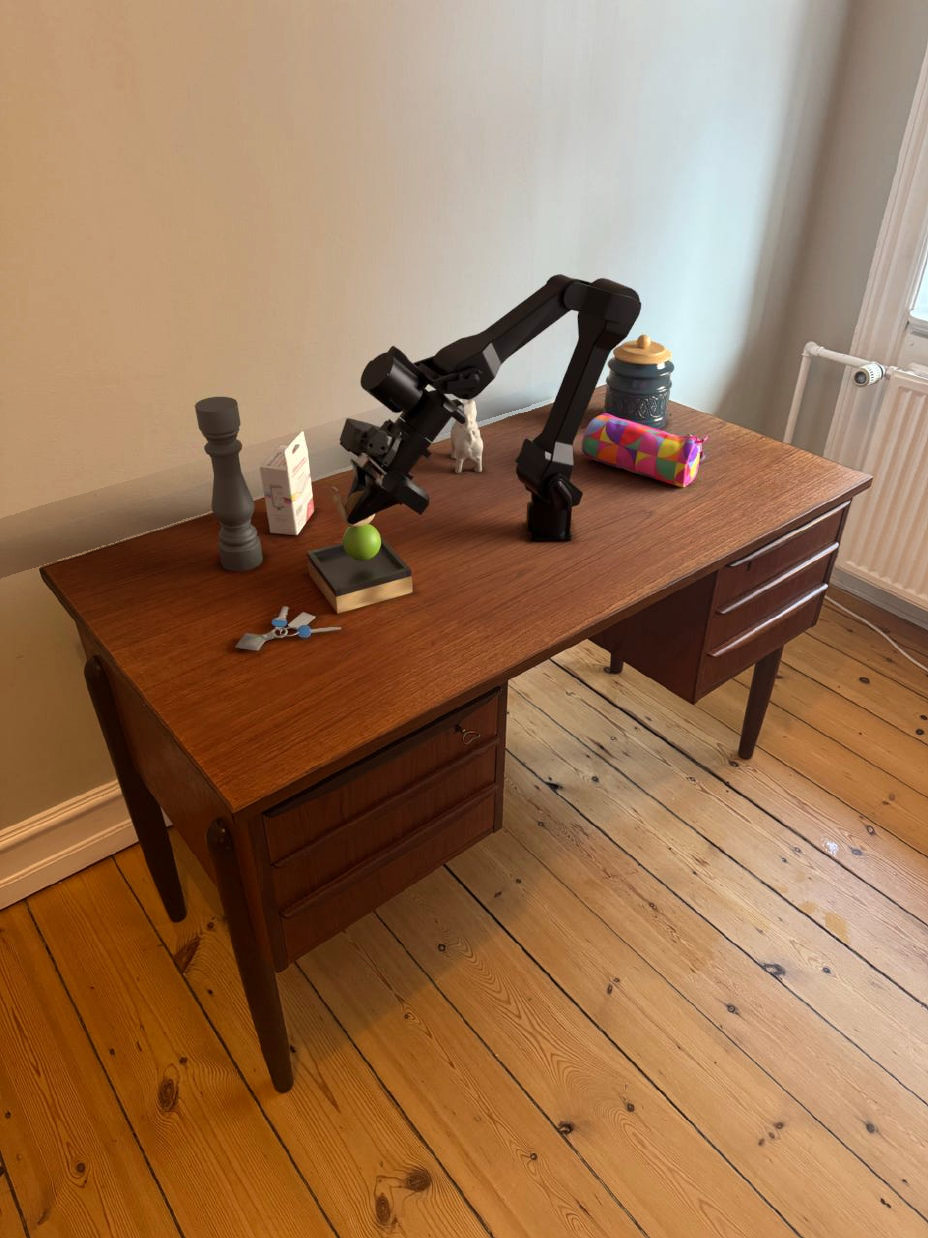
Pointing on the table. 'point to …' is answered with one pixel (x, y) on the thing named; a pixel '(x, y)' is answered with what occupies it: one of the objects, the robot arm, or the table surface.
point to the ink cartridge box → (288, 487)
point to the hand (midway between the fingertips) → (346, 519)
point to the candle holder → (229, 484)
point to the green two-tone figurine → (357, 530)
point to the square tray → (358, 576)
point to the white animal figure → (467, 439)
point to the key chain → (298, 623)
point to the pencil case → (643, 449)
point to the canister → (639, 382)
